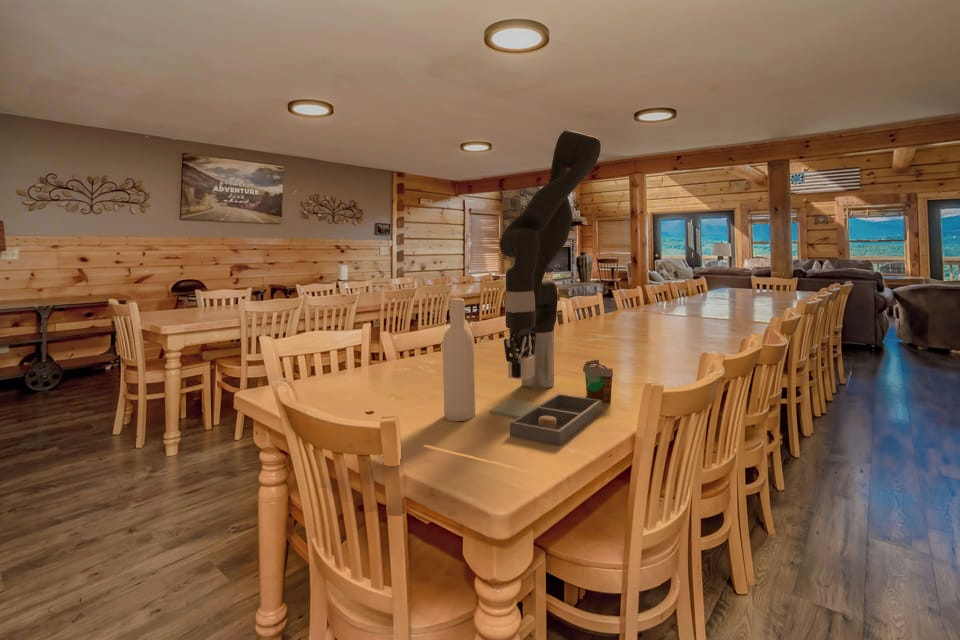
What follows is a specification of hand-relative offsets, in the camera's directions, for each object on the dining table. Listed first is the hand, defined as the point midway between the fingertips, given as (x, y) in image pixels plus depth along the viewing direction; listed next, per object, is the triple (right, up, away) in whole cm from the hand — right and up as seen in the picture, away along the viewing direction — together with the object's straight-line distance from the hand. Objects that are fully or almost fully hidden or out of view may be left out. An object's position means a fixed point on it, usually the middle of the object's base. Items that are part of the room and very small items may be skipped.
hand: (521, 374), depth 126 cm
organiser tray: (+8, -11, -9) cm, 16 cm away
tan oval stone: (+5, -11, -14) cm, 19 cm away
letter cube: (0, -1, 0) cm, 1 cm away
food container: (+21, -8, +11) cm, 25 cm away
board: (0, -10, +2) cm, 10 cm away
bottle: (-16, -11, -2) cm, 19 cm away
